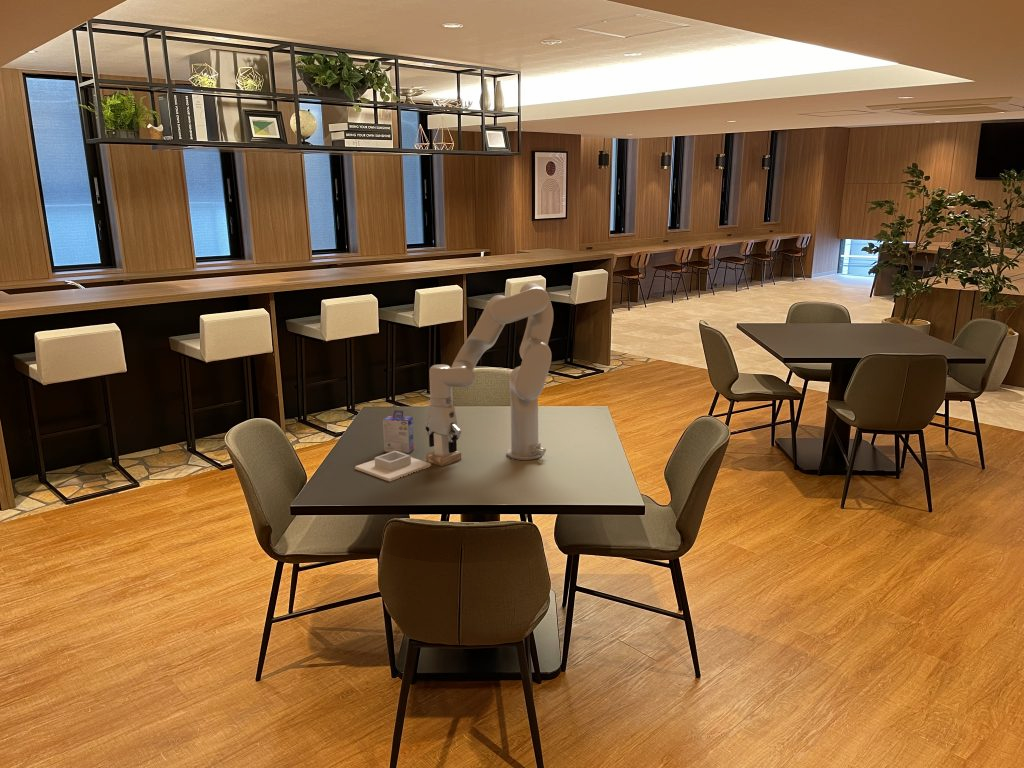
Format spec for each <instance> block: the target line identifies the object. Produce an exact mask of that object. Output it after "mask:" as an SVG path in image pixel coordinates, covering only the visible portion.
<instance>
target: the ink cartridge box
mask: <svg viewBox="0 0 1024 768" xmlns="http://www.w3.org/2000/svg"><path fill="white" fill-rule="evenodd" d="M398 413H399V414H398ZM382 432H383V433H382V434H383V451H384V452H386V453H389V452H392V451H398V452H401V453H404V454H410V453H411V452H412V451H413V450H415V436H414V433H415V432H414V417H413V416H404V410H395V409H394V410H393V415H390V416H389V415H387V416H386V417H385V418H383V419H382Z"/></svg>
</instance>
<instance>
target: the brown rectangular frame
mask: <svg viewBox="0 0 1024 768" xmlns="http://www.w3.org/2000/svg"><path fill="white" fill-rule="evenodd" d="M425 457H426V460H425V461H426V462H428V463H431V464H435V465H437V466H441V467H445V466H447V465H451V464H452V463H456V462H458V461H460V459H461V460H462V452H461V451H455V452H453V454H452V455H449V456H446V457H444V458H441V457H438V456H435V454H434V451H431V452H428V453H426V455H425ZM444 465H445V466H444Z"/></svg>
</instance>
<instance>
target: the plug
mask: <svg viewBox="0 0 1024 768" xmlns="http://www.w3.org/2000/svg"><path fill="white" fill-rule="evenodd" d="M449 433H450V432H449ZM451 437H453V436H452V435H451ZM449 442H450V440H449V439H448V437H447V436H446V435H442V434H439V433H434V446H433V447H434V449H433V450H434V451H433V452H434V454H435V456H438V457H441V458H444V457H446V456H449V455H452V454H453V453H449Z"/></svg>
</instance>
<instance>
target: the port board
mask: <svg viewBox="0 0 1024 768" xmlns="http://www.w3.org/2000/svg"><path fill="white" fill-rule="evenodd" d="M430 466H431V467H432V463H431V462H428V461H426V460H425V461H424V460H421V459H418V458H414V457H413V456H411V455H410V454H408V453H401V452H398V451H392V452H386V453H384V454H381V455H378V456H375V457H374V459H373V460H370V461H366V462H363V463H361V464H357V465H355V467H354V468H355V470H357V471H359V472H362V473H365V474H368V475H371V476H373V477H376V478H378V479H381V480H384V481H386V482H393V481H395V480H397V479H401V478H403V476H404V477H407V476H409V475H411V473H412V474H414V473H413V472H415V473H417V472H420V471H423V470H425V469H427V468H430ZM422 469H423V470H422ZM419 470H420V471H419ZM416 471H417V472H416ZM408 474H409V475H408ZM400 477H401V478H400Z"/></svg>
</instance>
